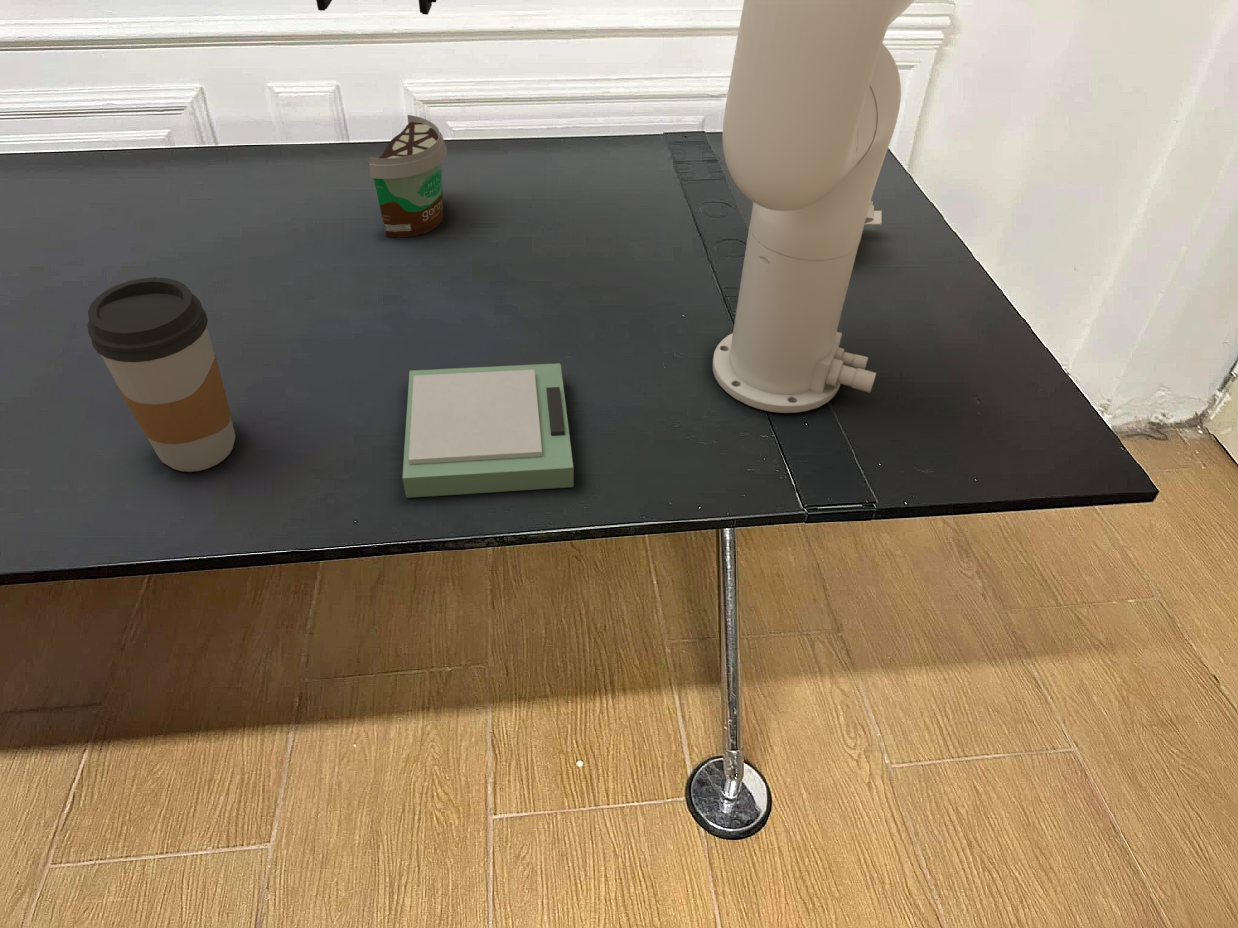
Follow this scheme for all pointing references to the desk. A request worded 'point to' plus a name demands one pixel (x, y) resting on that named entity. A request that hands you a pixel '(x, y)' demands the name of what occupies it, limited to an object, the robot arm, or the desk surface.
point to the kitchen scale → (486, 431)
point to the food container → (411, 179)
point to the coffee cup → (165, 369)
